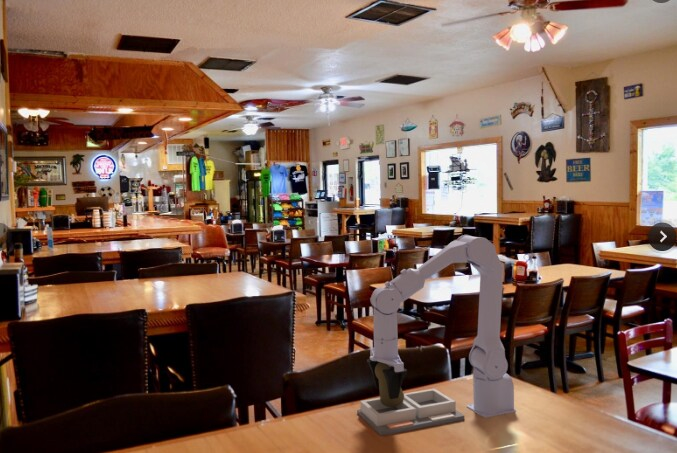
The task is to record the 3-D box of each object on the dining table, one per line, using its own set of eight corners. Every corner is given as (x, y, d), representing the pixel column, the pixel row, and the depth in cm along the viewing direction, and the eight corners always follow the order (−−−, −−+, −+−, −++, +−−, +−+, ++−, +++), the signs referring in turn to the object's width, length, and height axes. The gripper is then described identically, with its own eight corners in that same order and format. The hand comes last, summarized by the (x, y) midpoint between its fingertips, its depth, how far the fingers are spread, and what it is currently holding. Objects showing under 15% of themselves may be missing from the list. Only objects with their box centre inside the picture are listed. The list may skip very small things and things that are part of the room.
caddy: (434, 400, 145) (434, 387, 145) (464, 419, 132) (464, 405, 132) (357, 413, 138) (356, 400, 137) (381, 436, 124) (380, 420, 124)
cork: (405, 404, 134) (398, 372, 129) (381, 409, 135) (372, 377, 129) (402, 386, 139) (395, 354, 134) (379, 390, 140) (370, 358, 135)
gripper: (358, 332, 138) (359, 385, 139) (383, 346, 125) (384, 405, 125) (384, 329, 141) (385, 381, 141) (411, 343, 127) (412, 400, 128)
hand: (386, 392), depth 134 cm, fingers open, 7 cm apart
